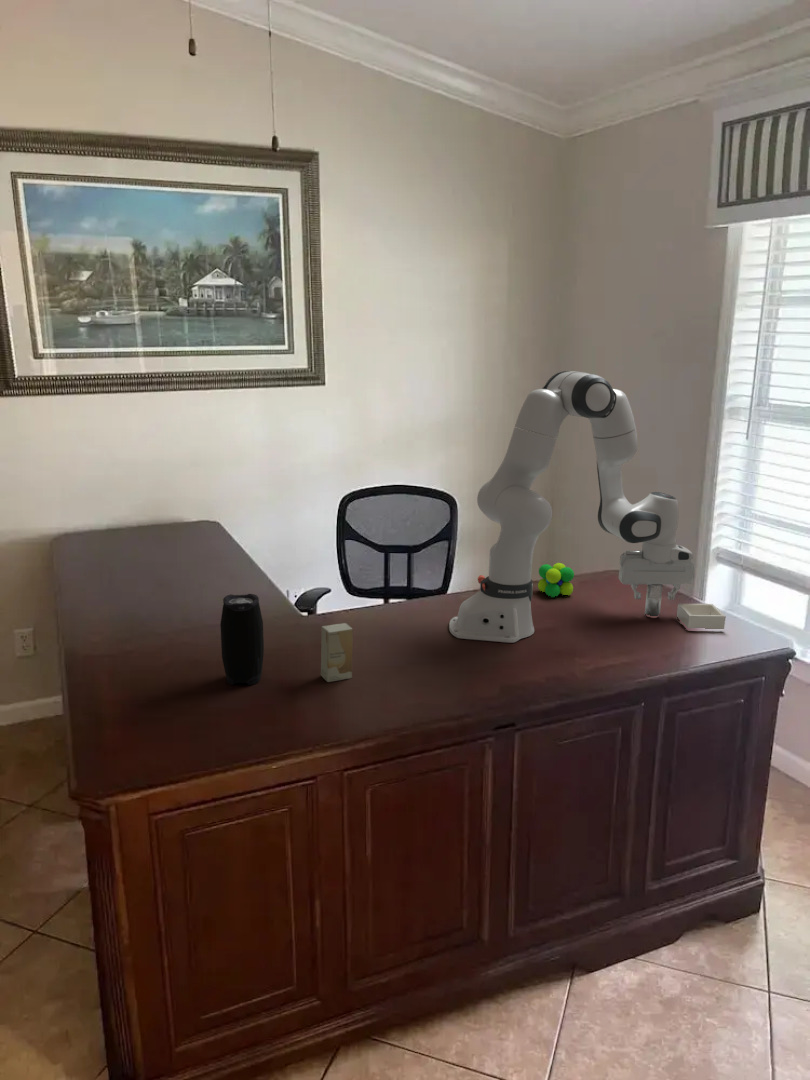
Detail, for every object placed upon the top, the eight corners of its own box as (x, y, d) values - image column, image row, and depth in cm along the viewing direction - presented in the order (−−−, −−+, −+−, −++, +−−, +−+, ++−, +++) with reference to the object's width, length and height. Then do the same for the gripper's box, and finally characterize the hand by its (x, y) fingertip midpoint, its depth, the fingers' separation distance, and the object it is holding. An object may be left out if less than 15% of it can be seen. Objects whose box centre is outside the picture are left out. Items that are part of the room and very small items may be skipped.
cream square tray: (687, 631, 229) (689, 615, 228) (676, 618, 239) (678, 603, 237) (723, 632, 229) (725, 616, 228) (711, 619, 239) (712, 604, 237)
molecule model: (549, 600, 252) (575, 597, 255) (550, 571, 250) (577, 568, 253) (534, 590, 260) (560, 588, 263) (536, 563, 258) (562, 560, 261)
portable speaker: (216, 678, 196) (212, 597, 191) (252, 668, 202) (250, 589, 197) (234, 691, 190) (231, 607, 185) (271, 680, 196) (269, 598, 190)
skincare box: (327, 683, 195) (327, 632, 192) (320, 675, 199) (319, 626, 195) (353, 678, 198) (353, 628, 194) (345, 670, 201) (345, 621, 198)
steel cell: (646, 618, 239) (650, 584, 236) (642, 613, 243) (646, 579, 240) (661, 618, 239) (664, 584, 236) (657, 613, 243) (660, 579, 240)
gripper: (623, 554, 233) (619, 602, 236) (699, 554, 233) (694, 602, 237) (617, 547, 239) (614, 594, 242) (691, 548, 239) (686, 595, 243)
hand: (654, 598), depth 239 cm, fingers open, 8 cm apart
